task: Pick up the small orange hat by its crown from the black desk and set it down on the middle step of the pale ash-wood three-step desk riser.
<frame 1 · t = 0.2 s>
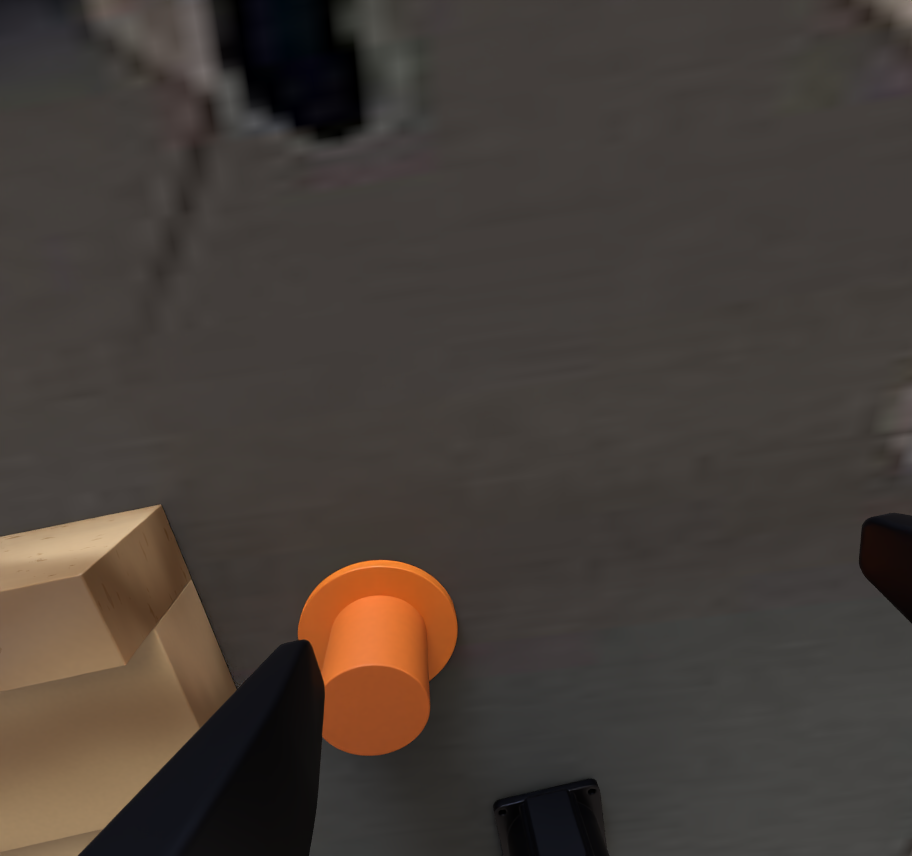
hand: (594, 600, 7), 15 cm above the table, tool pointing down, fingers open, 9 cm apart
hat: (379, 627, 24), on the table
riser: (87, 690, 24), on the table
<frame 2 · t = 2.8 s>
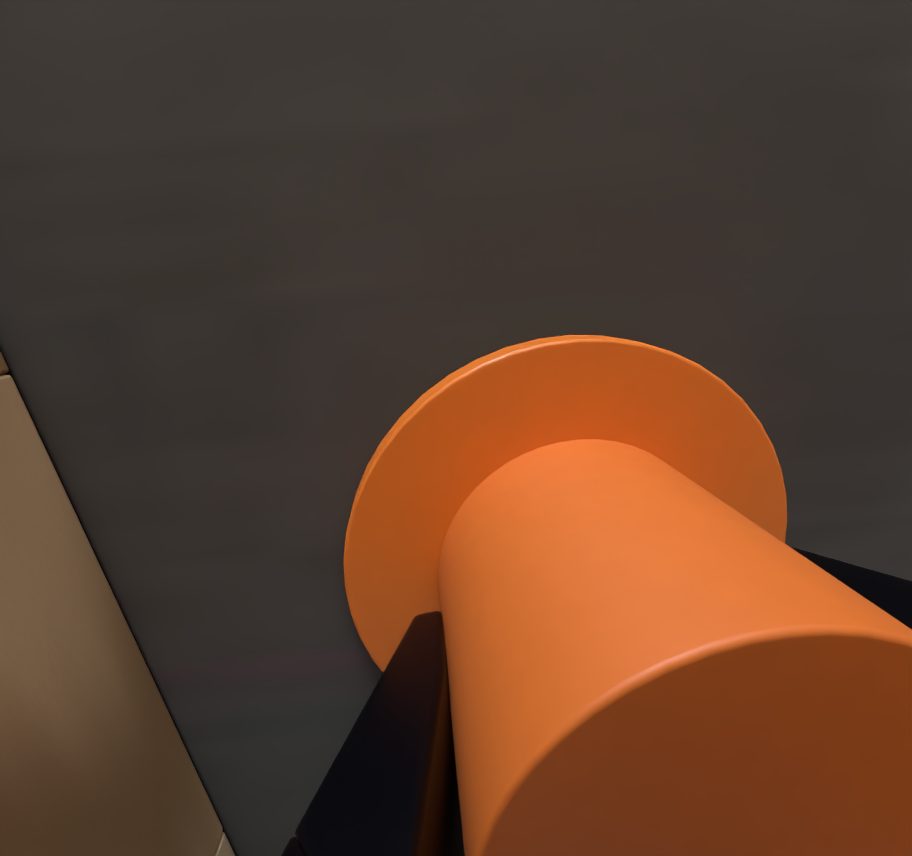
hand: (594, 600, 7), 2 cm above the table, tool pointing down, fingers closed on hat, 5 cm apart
hat: (562, 549, 9), on the table, touching gripper
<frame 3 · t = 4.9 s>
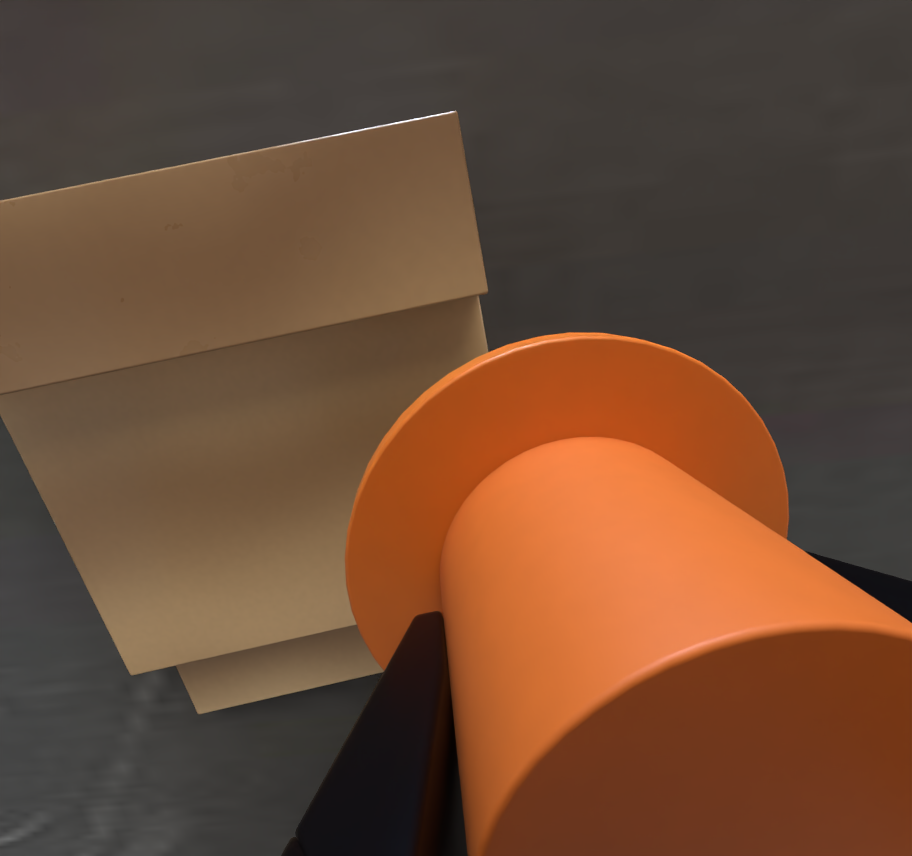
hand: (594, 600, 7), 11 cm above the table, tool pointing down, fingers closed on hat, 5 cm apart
hat: (564, 547, 9), point 10 cm above the table, touching gripper
riser: (312, 462, 18), on the table
when the fingers open (5 cm above the table, at t = 7.3 s): hat stays where it is, resting on riser.
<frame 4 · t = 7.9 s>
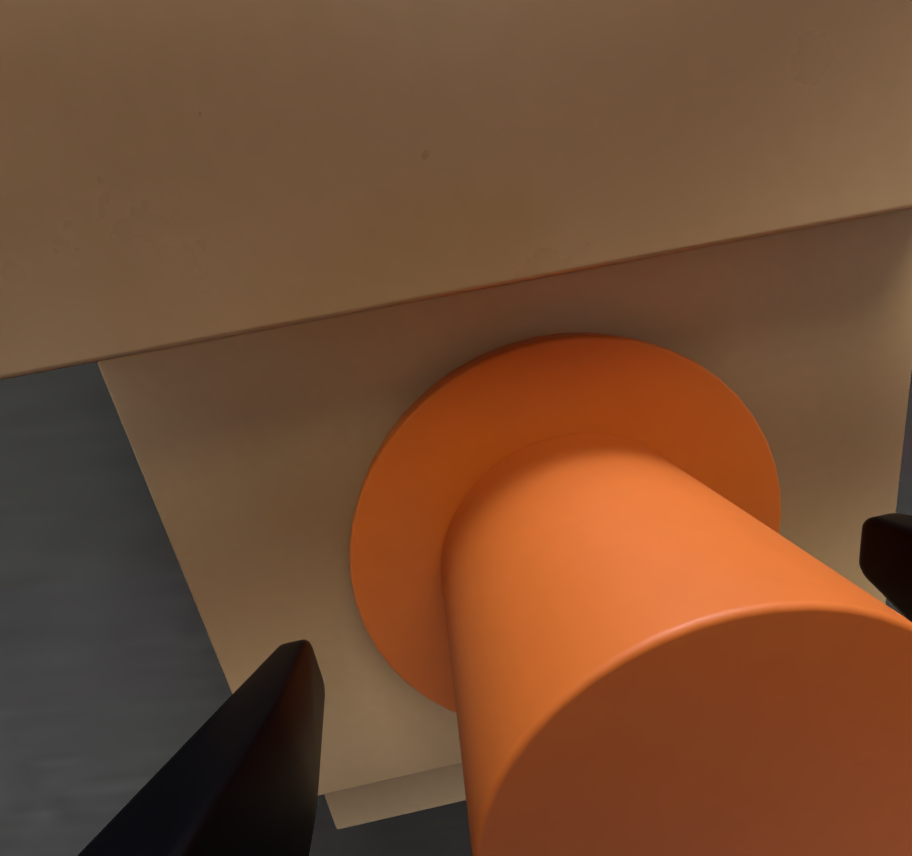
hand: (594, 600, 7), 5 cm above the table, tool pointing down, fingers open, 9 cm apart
hat: (562, 541, 9), point 3 cm above the table, touching riser
riser: (520, 475, 12), on the table
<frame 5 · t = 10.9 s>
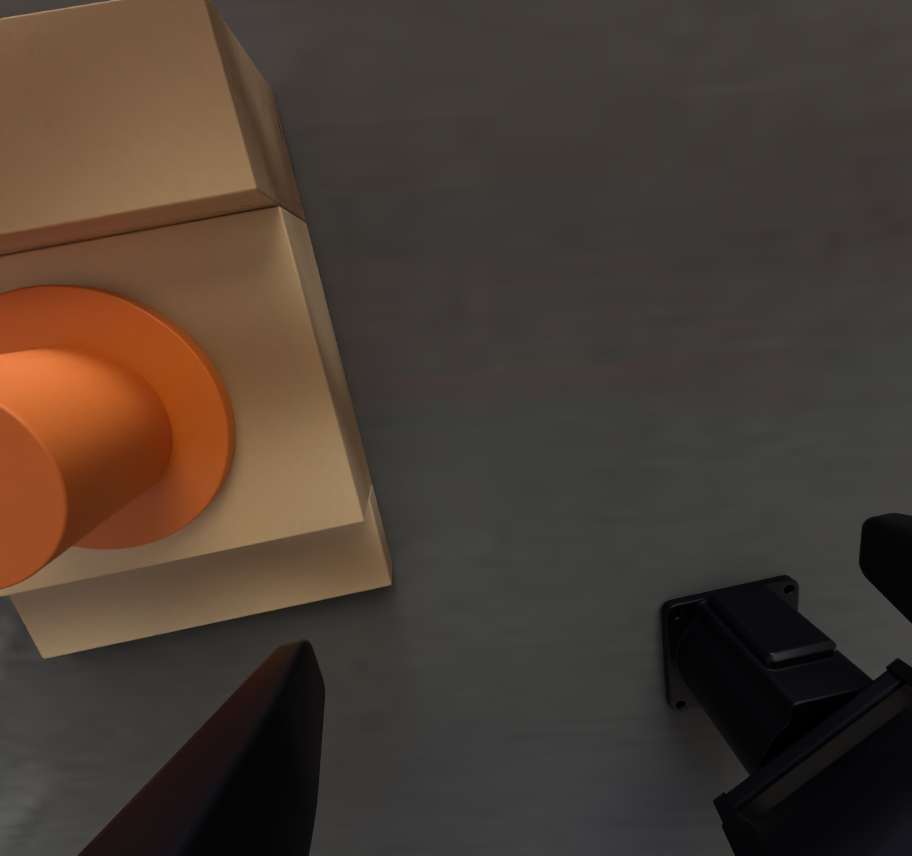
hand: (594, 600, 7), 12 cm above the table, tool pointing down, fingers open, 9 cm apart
hat: (97, 422, 14), point 3 cm above the table, touching riser
riser: (157, 398, 18), on the table
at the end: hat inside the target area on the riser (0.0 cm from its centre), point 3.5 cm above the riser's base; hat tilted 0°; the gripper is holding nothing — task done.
